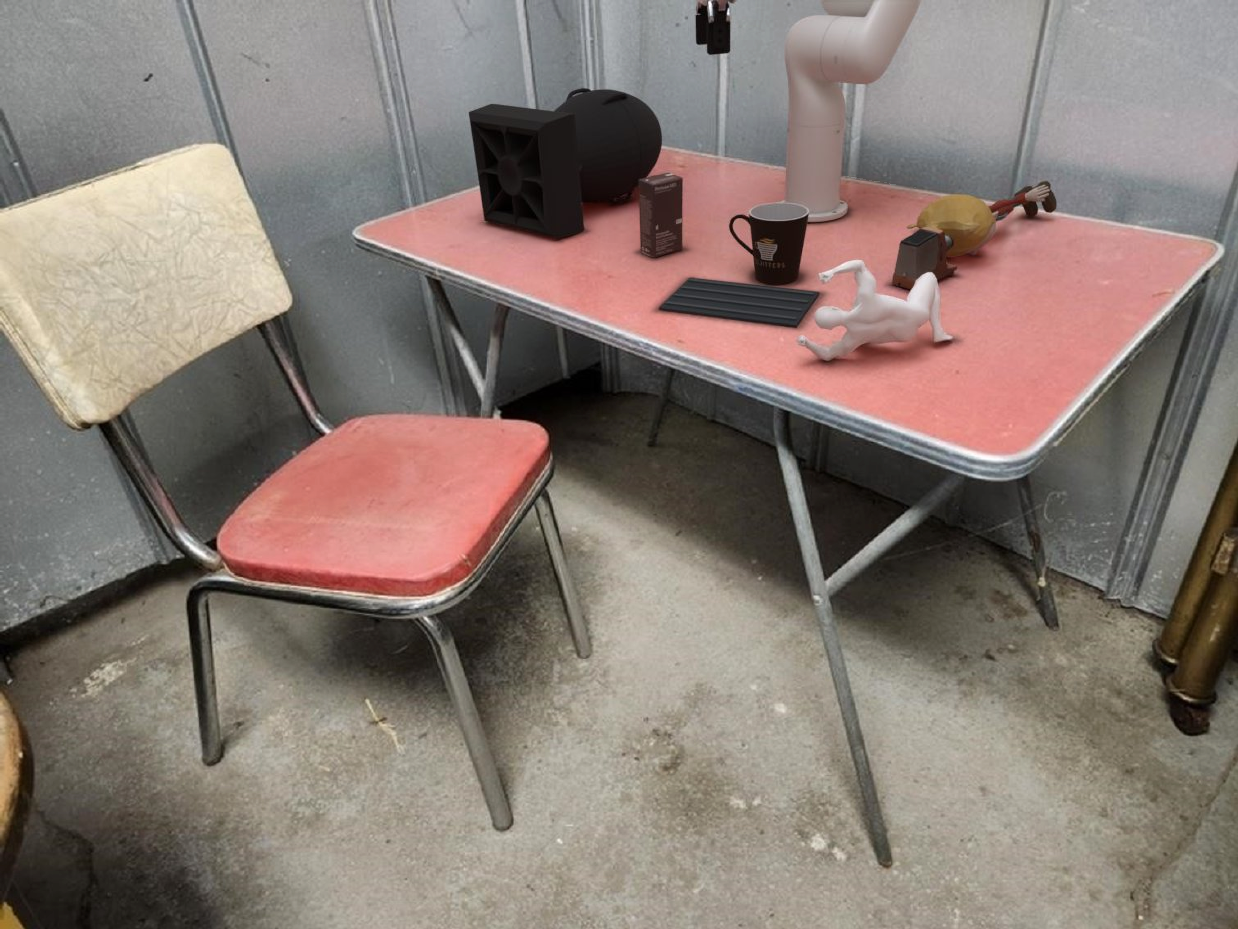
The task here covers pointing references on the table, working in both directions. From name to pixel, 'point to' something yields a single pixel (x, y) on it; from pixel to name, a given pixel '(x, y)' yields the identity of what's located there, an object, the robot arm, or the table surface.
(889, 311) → the person figurine
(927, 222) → the toy
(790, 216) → the coffee mug
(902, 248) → the electronic device
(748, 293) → the drying mat
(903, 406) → the table surface
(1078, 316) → the table surface
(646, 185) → the box
